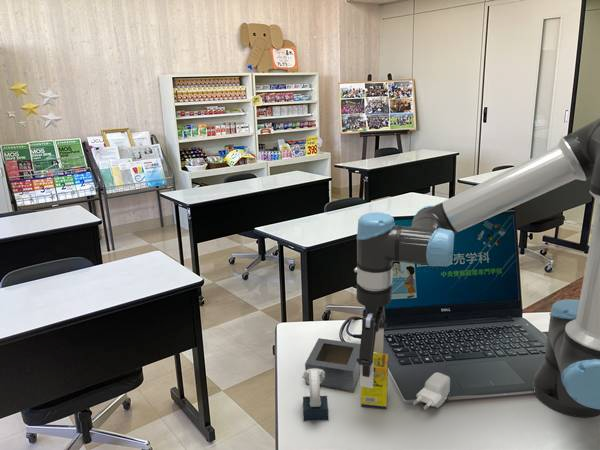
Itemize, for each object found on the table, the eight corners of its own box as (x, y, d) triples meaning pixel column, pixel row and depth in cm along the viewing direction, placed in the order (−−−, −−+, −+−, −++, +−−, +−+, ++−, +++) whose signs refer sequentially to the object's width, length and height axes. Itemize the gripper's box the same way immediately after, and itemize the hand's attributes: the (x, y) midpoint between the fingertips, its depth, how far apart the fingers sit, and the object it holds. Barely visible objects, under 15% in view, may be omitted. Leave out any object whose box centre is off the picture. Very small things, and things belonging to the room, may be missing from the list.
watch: (326, 401, 111) (325, 361, 108) (328, 425, 103) (327, 383, 100) (303, 402, 111) (301, 361, 108) (303, 426, 103) (301, 384, 100)
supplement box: (387, 409, 107) (387, 368, 104) (360, 407, 109) (360, 366, 105) (387, 392, 113) (388, 353, 110) (362, 390, 114) (362, 351, 111)
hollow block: (363, 364, 124) (363, 344, 122) (353, 392, 114) (353, 371, 112) (319, 357, 128) (318, 338, 126) (306, 384, 117) (305, 363, 115)
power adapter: (428, 424, 102) (429, 401, 101) (408, 414, 106) (409, 392, 104) (452, 398, 110) (453, 376, 108) (433, 389, 113) (434, 368, 112)
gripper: (367, 260, 114) (366, 337, 121) (343, 308, 92) (343, 399, 99) (399, 263, 112) (395, 341, 119) (382, 313, 90) (379, 406, 96)
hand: (372, 368), depth 109 cm, fingers open, 13 cm apart
